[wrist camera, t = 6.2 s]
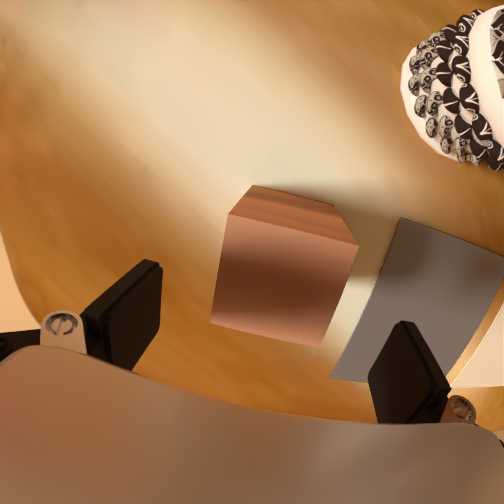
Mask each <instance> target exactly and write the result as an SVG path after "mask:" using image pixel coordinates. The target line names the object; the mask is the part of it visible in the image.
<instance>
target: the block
mask: <svg viewBox="0 0 504 504" xmlns="http://www.w3.org/2000/svg"><path fill="white" fill-rule="evenodd" d="M359 247H360V246H359V244H358V243H357V241H356V239H355V238H354V236H353V235H352V233H351V232H350V230H349V228H348V227H347V225H346V224H345V222H344V221H343V219H342V218H341V216H340V215H339V213H338V212H337V210H336V209H335V207H334V206H333V205H331V204H327V203H323V202H319V201H315V200H312V199H308V198H304V197H300V196H296V195H292V194H288V193H284V192H279V191H275V190H271V189H267V188H262V187H258V186H253V185H252V186H251V187H250V189H249V190H248V191H247V192H246V193H245V194H244V196H243V197H242V198H241V199H240V200H239V202H238V203H237V204H236V205H235V206H234V208H233V209H232V210H231V211H230V212H229V214H228V218H227V224H226V229H225V235H224V240H223V246H222V252H221V258H220V263H219V269H218V275H217V281H216V287H215V294H214V300H213V306H212V312H211V319H210V323H212V324H216V325H220V326H224V327H228V328H232V329H236V330H240V331H244V332H248V333H252V334H256V335H261V336H265V337H270V338H274V339H279V340H283V341H288V342H293V343H298V344H303V345H308V346H314V347H320V344H321V342H322V340H323V338H324V336H325V333H326V331H327V329H328V326H329V324H330V322H331V319H332V317H333V315H334V312H335V310H336V307H337V305H338V303H339V300H340V298H341V295H342V293H343V290H344V287H345V285H346V282H347V280H348V277H349V274H350V272H351V269H352V266H353V264H354V261H355V258H356V255H357V252H358V249H359Z"/></svg>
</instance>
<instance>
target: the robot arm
mask: <svg viewBox="0 0 504 504" xmlns="http://www.w3.org/2000/svg"><path fill="white" fill-rule="evenodd" d="M162 277H163V268H162V267H159V263H158V262H154V261H151V260H147V259H144V260H142V261H141V262H140V263H139V264H137V265H136V266H135V267H134V268H132V269H131V270H130V271H129V272H128V273H126V274H125V275H124V276H123V277H122V278H120V279H119V280H118V281H117V282H116V283H114V284H113V285H112V286H111V287H110V288H109V289H107V290H106V291H105V292H104V293H103V294H102V295H100V296H99V297H98V298H97V299H96V300H95V301H93V302H92V303H91V304H90V305H89V306H88V307H87V308H86V309H84V312H82V313H81V314H80V315H78V314H76V313H74V312H71V311H67V310H60V311H55V312H52V313H50V314H48V315H47V316H45V318H44V319H43V320H42V323H41V329H36V330H26V331H16V332H5V333H0V504H504V443H503V442H502V441H501V440H500V439H498V438H497V436H496V435H495V434H494V433H493V432H491V431H489V430H487V429H485V428H482V427H480V426H478V425H477V424H475V419H476V411H475V408H474V406H473V405H472V404H471V402H470V401H469V400H467V399H466V398H464V397H462V396H459V395H453V396H451V397H450V398H449V399H448V397H447V395H448V393H449V392H450V391H451V387H450V385H449V383H448V381H447V379H446V377H445V375H444V374H443V372H442V370H441V368H440V366H439V364H438V362H437V361H436V359H435V357H434V355H433V353H432V352H431V350H430V348H429V346H428V345H427V343H426V341H425V339H424V338H423V336H422V334H421V333H420V331H419V329H418V328H417V326H416V324H415V323H414V322H409V321H404V320H401V321H400V322H399V323H396V324H395V325H394V327H393V329H392V331H391V333H390V335H389V337H388V339H387V341H386V342H385V344H384V346H383V348H382V350H381V352H380V353H379V355H378V357H377V359H376V360H375V362H374V364H373V365H372V367H371V369H370V371H369V373H368V378H367V379H368V383H369V387H370V391H371V395H372V399H373V404H374V408H375V412H376V416H377V421H378V423H365V422H350V421H339V420H329V419H320V418H312V417H305V416H298V415H292V414H285V413H280V412H274V411H269V410H263V409H258V408H254V407H249V406H244V405H240V404H236V403H231V402H227V401H223V400H219V399H215V398H212V397H208V396H204V395H201V394H197V393H194V392H190V391H187V390H184V389H181V388H177V387H174V386H171V385H168V384H165V383H162V382H159V381H156V380H154V379H151V378H148V377H145V376H143V375H140V374H137V373H135V372H132V369H133V368H134V366H135V365H136V363H137V362H138V360H139V359H140V357H141V356H142V354H143V353H144V351H145V350H146V348H147V347H148V345H149V344H150V342H151V341H152V340H153V338H154V337H155V335H156V334H157V332H158V330H159V326H160V309H161V292H162Z"/></svg>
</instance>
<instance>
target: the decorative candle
mask: <svg viewBox="0 0 504 504" xmlns="http://www.w3.org/2000/svg"><path fill="white" fill-rule="evenodd" d="M456 26H457V27H456ZM456 26H454V25H450V24H448V25H447V26H446V27H444V28H442V29H441V30H440V32H439V33H433V34H431V35H430V36H429V38H428V40H424V41H421V42H420V43H419V44H418V46H417V47H415V48H413V49H412V50H411V52H410V54H409V55H408V57H407V58H406V60H405V62H404V63H403V65H402V73H401V84H400V90H401V94H402V98H403V102H404V106H405V110H406V114H407V116H408V117H409V119H410V121H411V122H412V124H413V126H414V127H415V129H416V131H417V133H418V135H419V136H420V138H421V139H423V140H424V141H425V142H426V143H427V144H428V145H429V146H430V147H431V148H432V149H433V150H434V151H435V152H436V153H438V154H440V155H442V156H445V157H447V158H450V159H452V160H455V161H458V162H461V163H465V162H466V161H471V163H472V164H473V165H474V166H476V167H478V166H480V165H481V164H482V160H484V159H486V161H487V166H488V168H489V169H493V170H495V171H499V170H501V169H502V168H503V169H504V5H502V6H498V7H495V8H492V9H490V10H488V11H486V12H485V11H483V10H480V9H476V10H474V11H473V12H472V13H471V17H470V16H468V15H462V16H461V17H460V18H459V20H458V21H457V24H456Z"/></svg>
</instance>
